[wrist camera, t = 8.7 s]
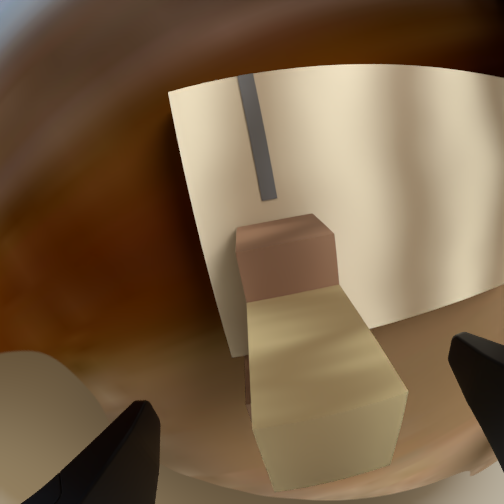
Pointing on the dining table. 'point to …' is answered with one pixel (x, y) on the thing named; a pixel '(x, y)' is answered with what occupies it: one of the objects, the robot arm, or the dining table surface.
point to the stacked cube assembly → (312, 360)
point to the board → (352, 179)
